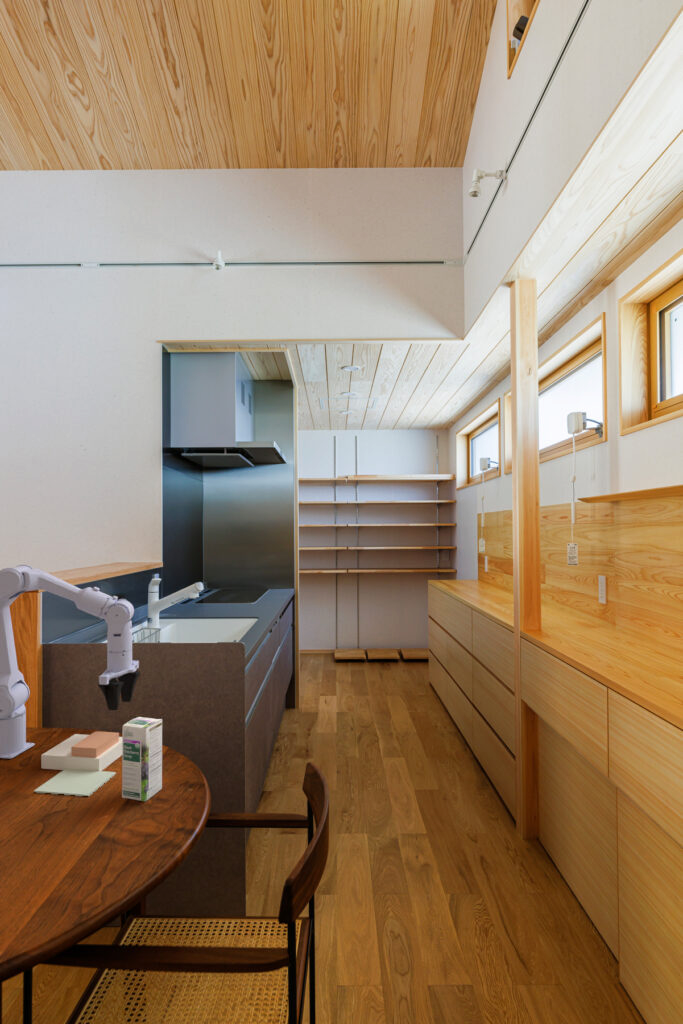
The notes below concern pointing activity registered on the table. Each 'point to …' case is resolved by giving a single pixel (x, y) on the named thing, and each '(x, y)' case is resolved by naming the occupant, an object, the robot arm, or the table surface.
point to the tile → (95, 744)
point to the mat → (75, 782)
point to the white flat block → (63, 760)
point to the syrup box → (141, 758)
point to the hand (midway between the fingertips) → (120, 705)
